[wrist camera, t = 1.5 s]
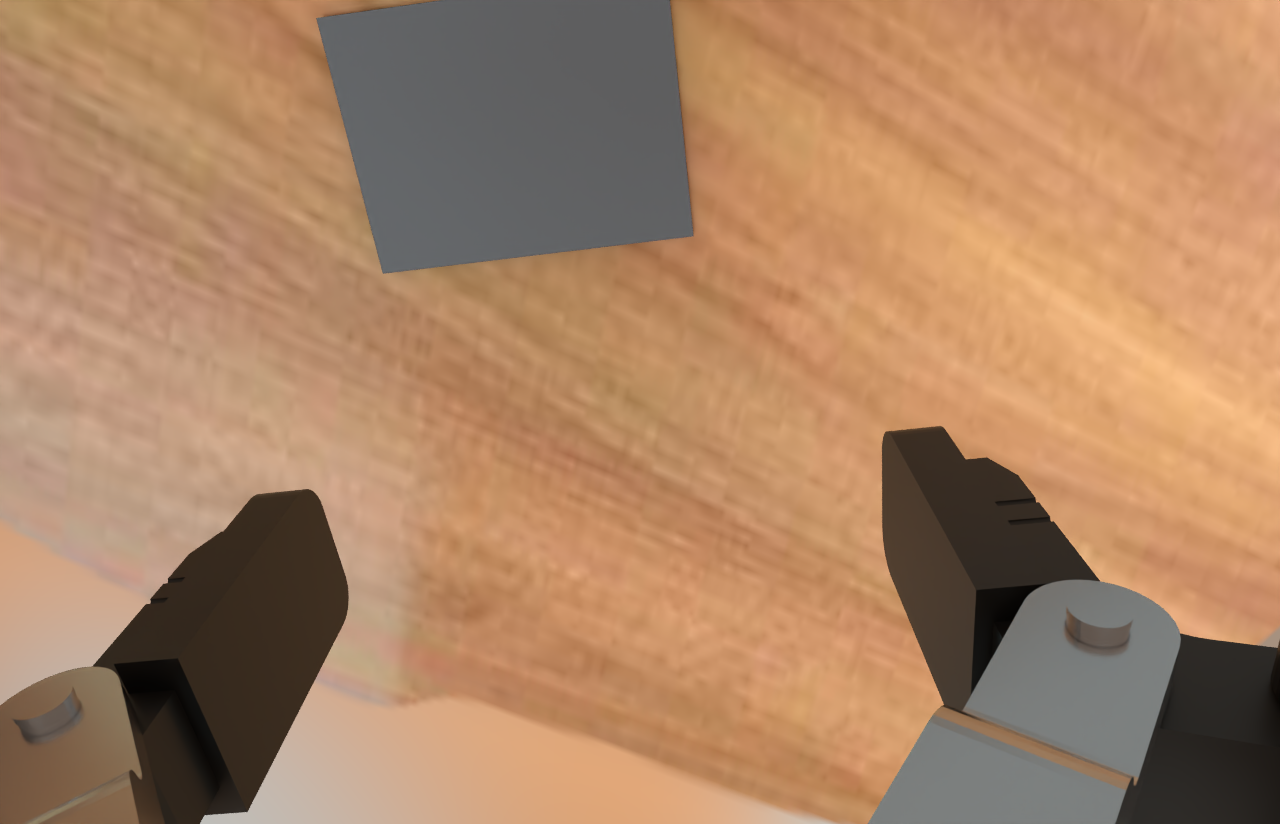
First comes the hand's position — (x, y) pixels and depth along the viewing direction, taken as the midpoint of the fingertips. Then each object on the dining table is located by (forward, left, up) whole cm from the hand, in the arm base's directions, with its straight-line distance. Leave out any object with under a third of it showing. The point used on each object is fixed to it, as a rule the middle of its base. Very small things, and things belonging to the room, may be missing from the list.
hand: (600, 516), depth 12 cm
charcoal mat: (-4, +3, -22) cm, 23 cm away
